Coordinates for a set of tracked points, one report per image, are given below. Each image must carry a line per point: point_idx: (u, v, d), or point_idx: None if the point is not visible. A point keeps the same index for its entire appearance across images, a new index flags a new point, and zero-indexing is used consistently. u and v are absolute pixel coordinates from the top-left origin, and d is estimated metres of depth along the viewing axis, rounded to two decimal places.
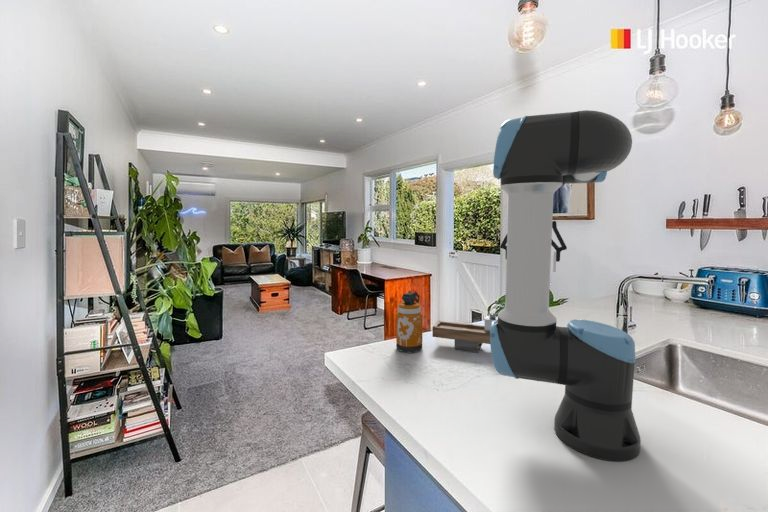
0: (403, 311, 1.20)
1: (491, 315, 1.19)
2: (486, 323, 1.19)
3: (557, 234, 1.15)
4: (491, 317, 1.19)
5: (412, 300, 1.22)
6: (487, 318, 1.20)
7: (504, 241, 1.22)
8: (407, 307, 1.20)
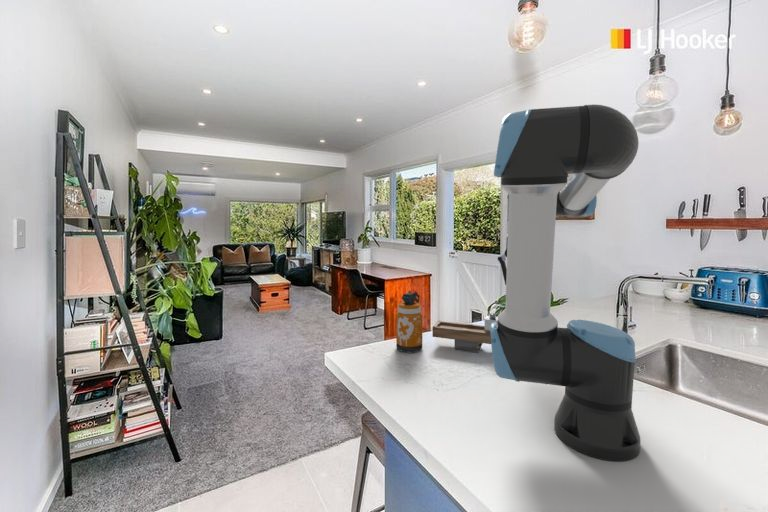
0: (403, 311, 1.20)
1: (491, 315, 1.19)
2: (486, 323, 1.19)
3: None
4: (491, 317, 1.19)
5: (412, 300, 1.22)
6: (487, 318, 1.20)
7: (505, 278, 1.16)
8: (407, 307, 1.20)
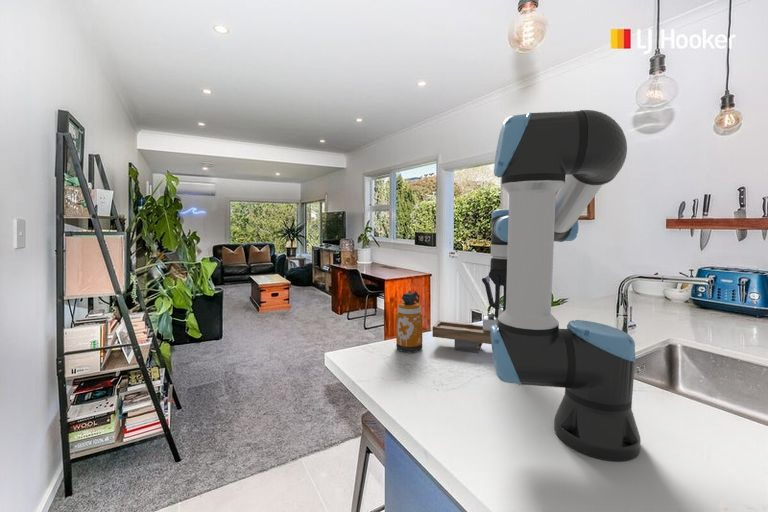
0: (403, 311, 1.20)
1: (489, 315, 1.20)
2: (484, 323, 1.19)
3: None
4: (489, 317, 1.20)
5: (412, 300, 1.22)
6: (485, 318, 1.20)
7: (489, 299, 1.19)
8: (407, 307, 1.20)
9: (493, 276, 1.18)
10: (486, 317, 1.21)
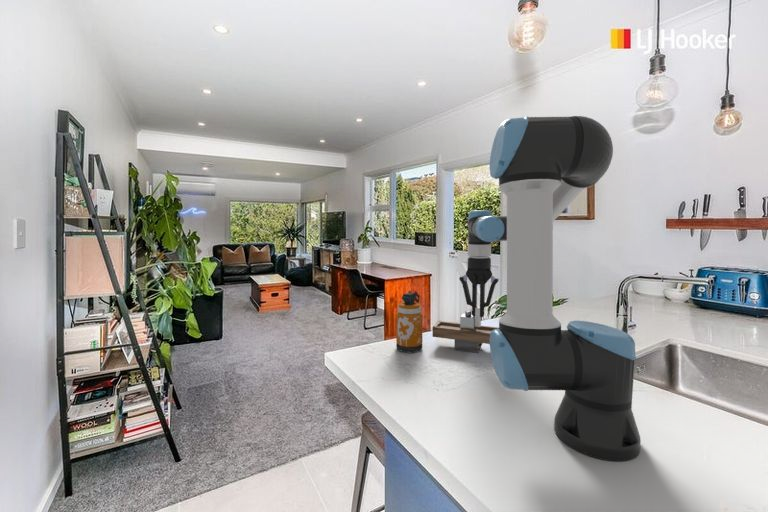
0: (403, 311, 1.20)
1: (467, 313, 1.23)
2: (462, 320, 1.22)
3: (490, 291, 1.18)
4: (467, 315, 1.23)
5: (412, 300, 1.22)
6: (463, 316, 1.23)
7: (466, 297, 1.22)
8: (407, 307, 1.20)
9: (470, 275, 1.21)
10: (464, 315, 1.24)
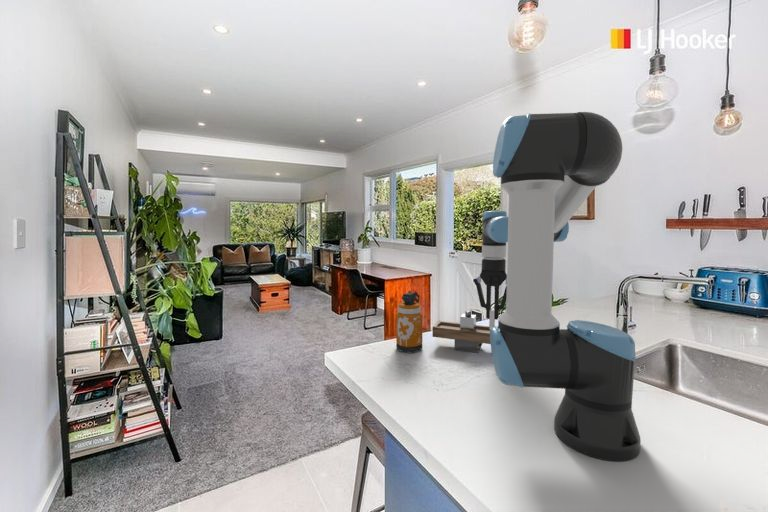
0: (403, 311, 1.20)
1: (467, 313, 1.23)
2: (462, 320, 1.22)
3: (505, 293, 1.16)
4: (467, 315, 1.23)
5: (412, 300, 1.22)
6: (463, 316, 1.23)
7: (480, 299, 1.20)
8: (407, 307, 1.20)
9: (484, 277, 1.19)
10: (464, 315, 1.24)
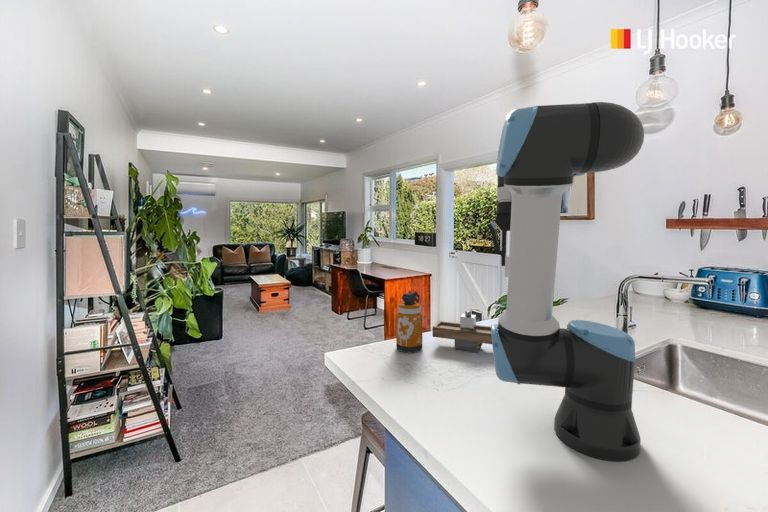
0: (403, 311, 1.20)
1: (467, 313, 1.23)
2: (462, 320, 1.22)
3: None
4: (467, 315, 1.23)
5: (412, 300, 1.22)
6: (463, 316, 1.23)
7: (495, 246, 1.14)
8: (407, 307, 1.20)
9: (499, 221, 1.13)
10: (464, 315, 1.24)
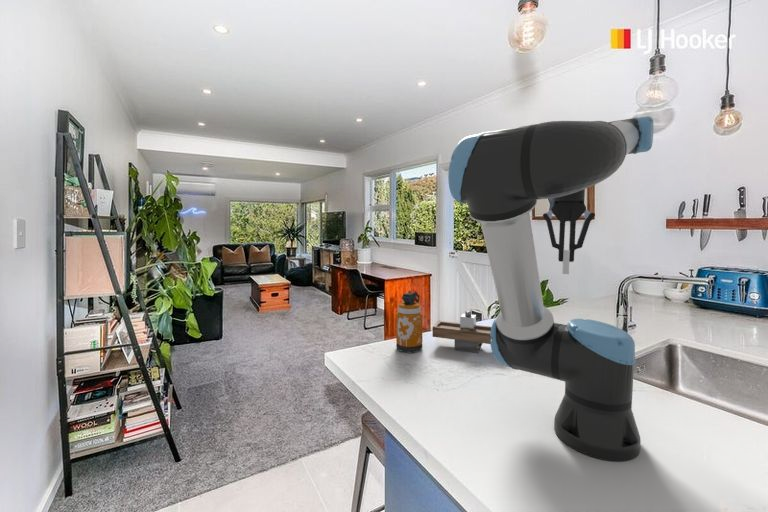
0: (403, 311, 1.20)
1: (467, 313, 1.23)
2: (462, 320, 1.22)
3: (584, 228, 0.96)
4: (467, 315, 1.23)
5: (412, 300, 1.22)
6: (463, 316, 1.23)
7: (552, 238, 0.99)
8: (407, 307, 1.20)
9: (557, 210, 0.98)
10: (464, 315, 1.24)
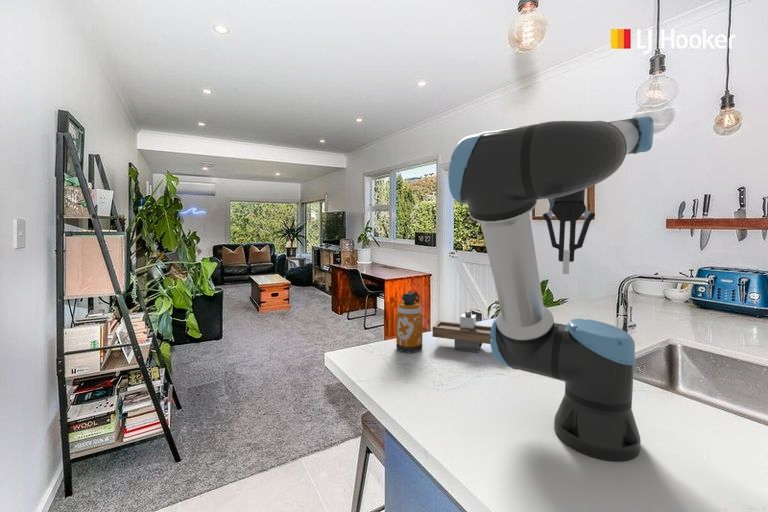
0: (403, 311, 1.20)
1: (467, 313, 1.23)
2: (462, 320, 1.22)
3: (585, 228, 0.96)
4: (467, 315, 1.23)
5: (412, 300, 1.22)
6: (463, 316, 1.23)
7: (552, 238, 0.99)
8: (407, 307, 1.20)
9: (557, 210, 0.98)
10: (464, 315, 1.24)
